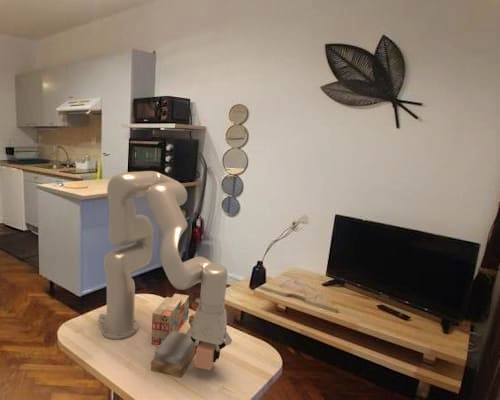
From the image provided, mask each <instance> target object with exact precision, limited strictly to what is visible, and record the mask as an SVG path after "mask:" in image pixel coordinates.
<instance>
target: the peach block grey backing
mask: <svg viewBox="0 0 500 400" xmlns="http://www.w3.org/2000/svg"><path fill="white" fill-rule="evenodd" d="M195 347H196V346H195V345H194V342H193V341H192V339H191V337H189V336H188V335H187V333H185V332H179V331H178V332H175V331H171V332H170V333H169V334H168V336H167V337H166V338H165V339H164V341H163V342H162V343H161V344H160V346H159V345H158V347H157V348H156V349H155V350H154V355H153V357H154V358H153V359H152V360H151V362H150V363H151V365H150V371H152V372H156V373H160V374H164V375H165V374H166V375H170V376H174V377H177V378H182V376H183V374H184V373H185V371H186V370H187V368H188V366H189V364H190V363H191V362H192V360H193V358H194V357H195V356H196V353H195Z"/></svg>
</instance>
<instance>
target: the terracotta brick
mask: <svg viewBox="0 0 500 400" xmlns="http://www.w3.org/2000/svg"><path fill="white" fill-rule="evenodd" d="M214 351H215V344H211V343H207V342H203V341H201V342H200V344H199V345H198V347H197V348H196V353H195V356H194V357H195V358H194V359H195V360H194V367H196V368H200V369H204V370H208V371H211V369H212V367H213V365H214V363H215V362H213V358H214Z"/></svg>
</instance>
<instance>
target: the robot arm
mask: <svg viewBox="0 0 500 400" xmlns="http://www.w3.org/2000/svg"><path fill="white" fill-rule="evenodd" d="M106 192H107V199H108V204H109V207H108V208H109V213H108V214H109V215H108V216H109V218H108V220H109V221H108V223H109V224H108V236H109V241H110V243H111V244H112V245H113V246H117V248H114V249H112V250H111V251H110V250H109V252H107V254H105V255H104V259H103V268H104V273H105V278H106V314H105V313H99V316H98V320H97V322H98V323H101V324H103V326H102V328H101V334H102V336H103V337H105V338H107V339H110V340H123V339H127V338H130V337H132V336H133V335H135V334H136V333H137V331H138V330H139V323H138V322H137V320H135V301H136V298H135V297H136V293H135V292H136V284H135V280H134V278H132V275H131V273H132V272H134V271H137V270H139V269H142V268H145V267H146V266H147V265H149V264H150V262H151V261H152V257H153V243H154V242H153V241H154V227H153V224H152V222H151V219H150V218H149V217H148V216H146V215H145V214H136V212H137V210H136V204H135V202H134V201H135V200H133V198H140V197H145V199H146V203H147V205H148V207H149V209H150V211H151V213H152V215H153V218H154V219H155V222H156V225H157V227H158V229H159V231H160V234H161V237H162V238H161V243H160V252H159V253H160V262H161V265H162V266H161V267H162V269H163V270H164V273H165V275H166V277H167V279H168V281H169V282H170V284H171V285H172V286H173V287H174V288H175V289H177V290H180V291H185V290H187V289H190V288H191V287H193V286H195V285H196V284H199V283H201V285H200V297H196V298H195V303H197V304H198V306H197V307H196V309H195V312H194V314H195V316H194V320H193V326H192V327H191V326H190V328H188V329H187V331H186V333H185V334H187V335H188V336H189V337H191V339H192V341H193V342H194V345H195V346H196V347H195V354H196V348H197V347H198V345H199V344H200V342H201V341H203V342H207V343H211V344H215V351H214V358H213V362H214V363H216V362H217V360H219V359H220V357H221V356H220V355H221V350H222V349H224V348H226V347H227V346H229V345H232V342H233V339H232V338H231V335H229V333H228V330H227V328H228V327H227V324H228V320H227V319H228V318H227V310H226V308H225V305H226V304H225V303H226V292H227V283H228V270H227V267H226V266H224V265H222V264H219V263H214V262H212V261H211V260H209V259H207V258H206V257H203V256H196V257H193V258H191V259H188V260H185V261H182V259H181V255H180V253H179V241H180V239H181V236H182V235H183V233H184V232H185V230H187V228H188V221H187V219H186V217H185V215H184V213H183V211H182V209H181V207H180V206H183V205H184V204H185V203H186V201H187V200H188V192H187V189H186V187H185V186H184V185H183V184H182V183H181V182H179V181H178V180H176V179H174V178H172V177H170V176H167V175H165V174H163V173H160V172H158V171H156V170H155V171H154V170H143V171H127V172H121V173H118V174H115V175H114V176H112V177H111V178H110V179H109V181H108V183H107V188H106ZM119 246H120V247H119Z"/></svg>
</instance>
